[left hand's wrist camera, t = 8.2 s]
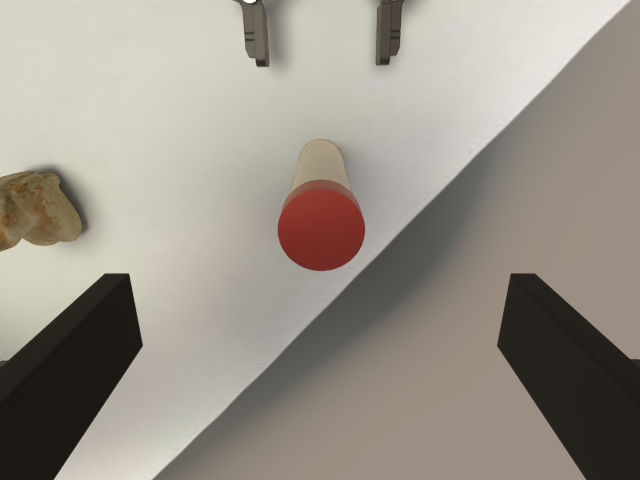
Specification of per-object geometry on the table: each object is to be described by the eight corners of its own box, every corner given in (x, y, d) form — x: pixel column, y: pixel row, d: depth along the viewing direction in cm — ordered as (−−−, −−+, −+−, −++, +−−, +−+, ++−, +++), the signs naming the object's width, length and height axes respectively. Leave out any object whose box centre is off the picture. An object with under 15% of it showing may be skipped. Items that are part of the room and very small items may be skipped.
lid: (324, 162, 21) (324, 170, 19) (377, 221, 22) (382, 235, 20) (264, 215, 22) (259, 228, 20) (318, 268, 23) (318, 286, 21)
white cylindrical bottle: (322, 129, 37) (324, 173, 20) (351, 163, 38) (377, 231, 21) (289, 159, 38) (264, 226, 21) (318, 191, 39) (318, 279, 22)
